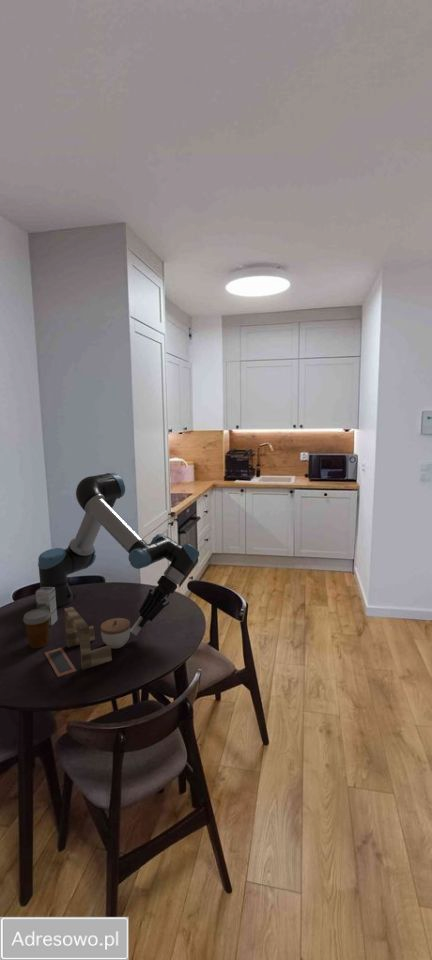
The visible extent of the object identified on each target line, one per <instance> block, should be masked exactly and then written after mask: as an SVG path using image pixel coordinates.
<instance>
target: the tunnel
mask: <svg viewBox="0 0 432 960" xmlns="http://www.w3.org/2000/svg"><path fill="white" fill-rule="evenodd" d="M63 612H64V613H63V615H64V626H65V627H64V628H65V641H66V647H67V648H72V647H75V646H79V648H80V649H79V653H80V664H81V670H82V671H84V670H87V669H89V668H93V667H96V666H99V665H101V664H105V663H108V662H111V661H113V658H112V655H113V654H112V648H111V646H110V645H105V646H102V647H98V648H94V649H93V650H92V648H91V642H92V641H95V640H96V637H95V634H96V633H95V626H94V625H91V626H90V625H89V624H87V621H85V620H84V619H83V617H82V616H81V615H80V614H79V613H78V612H77V610H76V609H75V608H74V607H73V606H70V607H66V608H65V607H64V608H63Z"/></svg>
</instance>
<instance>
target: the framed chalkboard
mask: <svg viewBox="0 0 432 960" xmlns="http://www.w3.org/2000/svg"><path fill="white" fill-rule="evenodd" d="M44 655H45V657H46V659H47V660H48V662H49V664H50V666H51V667H52V670H53V671H54V674H55V675H56V677H57V678H60V677H63V676H67V675H70V674H72V673H75V672H77V669H76V668H75V666H74V663H72V661H71V660H70V658H69V657H68V655H67V654H66V652H65V650H64V649H63V648H62V647H58V648H56V649H53V650H49V651H46V652H44Z"/></svg>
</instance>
